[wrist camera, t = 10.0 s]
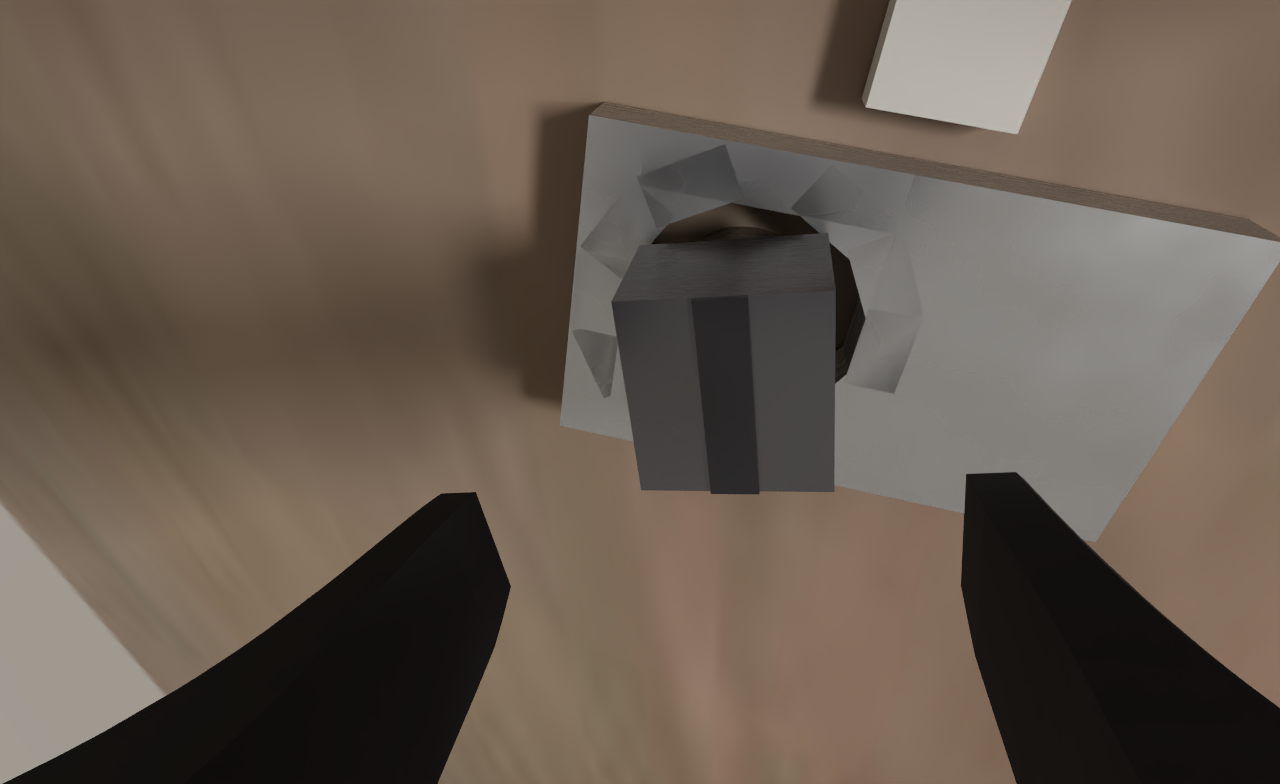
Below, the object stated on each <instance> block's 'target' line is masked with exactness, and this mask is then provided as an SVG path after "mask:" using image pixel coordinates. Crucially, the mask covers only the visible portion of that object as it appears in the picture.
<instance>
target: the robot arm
mask: <svg viewBox="0 0 1280 784" xmlns="http://www.w3.org/2000/svg"><path fill="white" fill-rule="evenodd" d="M961 587H962V593H963V598H964V603H965V608H966V613H967V618H968V624H969V628H970V633H971V638H972V643H973V648H974V652H975V657H976V660H977V663H978V666H979V669H980V672H981V676H982V679H983V682H984V685H985V688H986V691H987V694H988V697H989V700H990V703H991V706H992V710H993V713H994V716H995V719H996V722H997V725H998V728H999V731H1000V734H1001V737H1002V740H1003V743H1004V746H1005V749H1006V752H1007V755H1008V758H1009V761H1010V764H1011V767H1012V771H1013V774H1014V777H1015V780H1016V783H1017V784H1280V708H1279V707H1278V706H1276V705H1275V704H1274V703H1272V702H1271V701H1270V700H1268V699H1267V698H1265V697H1264V696H1263V695H1261V694H1260V693H1259V692H1257V691H1256V690H1255V689H1253V688H1252V687H1251V686H1249V685H1248V684H1247V683H1245V682H1244V681H1243V680H1242V679H1240V678H1239V677H1238V676H1236V675H1235V674H1234V673H1233V672H1231V671H1230V670H1229V669H1228V668H1226V667H1225V666H1224V665H1223V664H1221V663H1220V662H1219V661H1218V660H1216V659H1215V658H1214V657H1213V656H1211V655H1210V654H1209V653H1208V652H1206V651H1205V650H1204V649H1203V648H1202V647H1200V646H1199V645H1198V644H1197V643H1196V642H1195V641H1193V640H1192V639H1191V638H1190V637H1189V636H1187V635H1186V634H1185V633H1184V632H1183V631H1182V630H1180V629H1179V628H1178V627H1177V626H1176V625H1174V624H1173V623H1172V622H1171V621H1170V620H1169V619H1167V618H1166V617H1165V616H1164V615H1163V614H1162V613H1161V612H1159V611H1158V610H1157V609H1156V608H1155V607H1154V606H1153V605H1152V604H1150V603H1149V602H1148V601H1147V600H1146V599H1145V598H1144V597H1143V596H1141V595H1140V594H1139V593H1138V592H1137V591H1136V590H1135V589H1134V588H1133V587H1132V586H1131V585H1130V584H1129V583H1128V582H1126V581H1125V580H1124V579H1123V578H1122V577H1121V576H1120V575H1119V574H1118V573H1117V572H1116V571H1115V570H1114V569H1113V568H1111V567H1110V566H1109V565H1108V564H1107V563H1106V562H1105V561H1104V560H1103V559H1102V558H1101V557H1100V556H1099V555H1098V554H1097V553H1096V552H1095V551H1094V550H1093V549H1092V548H1091V547H1089V546H1088V545H1087V544H1086V543H1085V542H1084V541H1083V540H1082V539H1081V538H1080V537H1079V536H1078V535H1077V534H1076V533H1075V532H1074V530H1073V529H1072V528H1071V527H1070V526H1069V525H1068V524H1067V523H1066V522H1065V521H1064V520H1063V519H1062V518H1061V517H1060V516H1059V515H1058V514H1057V513H1056V512H1055V511H1054V510H1053V509H1052V508H1051V507H1050V506H1049V505H1048V504H1047V503H1046V502H1045V501H1044V500H1043V498H1042V497H1041V496H1040V495H1039V494H1038V493H1037V492H1036V491H1035V490H1034V489H1033V488H1032V487H1031V486H1030V485H1029V484H1028V482H1027V481H1026V480H1025V479H1024V478H1022V477H1021V476H1020V475H1019V474H1018V473H1017V472H1003V473H976V474H966V486H965V509H964V531H963V553H962V575H961ZM510 588H511V586H510V583H509V580H508V578H507V575H506V572H505V570H504V567H503V564H502V561H501V559H500V556H499V553H498V551H497V548H496V545H495V543H494V540H493V537H492V535H491V532H490V529H489V527H488V524H487V521H486V519H485V516H484V513H483V510H482V508H481V505H480V502H479V500H478V497H477V494H476V492H471V493H445V494H440V495H439V496H437V497H436V498H434V499H433V500H432V501H430V502H429V503H427V504H426V505H425V506H423V507H422V508H421V509H420V510H418V511H417V512H416V513H414V514H413V515H412V516H411V517H409V518H408V519H407V520H406V521H404V522H403V523H402V524H401V525H399V526H398V527H397V528H396V529H395V530H393V531H392V532H391V533H390V534H388V535H387V536H386V537H385V538H384V539H382V540H381V541H380V542H379V543H377V544H376V545H375V546H374V547H373V548H371V549H370V550H369V551H368V552H366V553H365V554H364V555H363V556H361V557H360V558H359V559H358V560H357V561H355V562H354V563H353V564H352V565H350V566H349V567H348V568H347V569H345V570H344V571H343V572H342V573H341V574H339V575H338V576H337V577H336V578H334V579H333V580H332V581H331V582H329V583H328V584H327V585H325V586H324V587H323V588H322V589H320V590H319V591H318V592H316V593H315V594H314V595H312V596H311V597H310V598H308V599H307V600H306V601H304V602H303V603H302V604H300V605H299V606H298V607H296V608H295V609H294V610H293V611H291V612H290V613H289V614H287V615H286V616H285V617H283V618H282V619H281V620H279V621H278V622H277V623H275V624H274V625H273V626H271V627H270V628H269V629H267V630H266V631H265V632H263V633H262V634H260V635H259V636H258V637H256V638H255V639H253V640H252V641H250V642H249V643H248V644H246V645H245V646H243V647H242V648H240V649H239V650H237V651H236V652H234V653H233V654H231V655H230V656H228V657H227V658H225V659H224V660H222V661H221V662H219V663H218V664H216V665H215V666H213V667H212V668H210V669H209V670H207V671H205V672H204V673H202V674H201V675H199V676H198V677H196V678H195V679H193V680H191V681H190V682H188V683H187V684H185V685H183V686H182V687H180V688H179V689H177V690H175V691H173V692H172V693H170V694H168V695H167V696H165V697H163V698H161V699H160V700H158V701H156V702H155V703H153V704H151V705H149V706H148V707H146V708H144V709H143V710H141V711H139V712H137V713H136V714H134V715H132V716H131V717H129V718H127V719H126V720H124V721H122V722H120V723H118V724H117V725H115V726H114V727H112V728H110V729H108V730H107V731H105V732H103V733H101V734H99V735H97V736H95V737H94V738H92V739H90V740H88V741H86V742H84V743H82V744H80V745H79V746H76V747H75V748H73V749H71V750H69V751H67V752H65V753H63V754H61V755H59V756H57V757H56V758H54V759H52V760H50V761H48V762H46V763H44V764H41V765H39V766H38V767H36V768H33V769H32V770H29V771H27V772H25V773H23V774H21V775H19V776H17V777H16V778H13V779H12V780H10V781H7V782H5V783H3V784H437V783H438V781H439V779H440V776H441V774H442V771H443V769H444V767H445V764H446V762H447V760H448V757H449V755H450V753H451V750H452V748H453V745H454V743H455V741H456V738H457V736H458V734H459V731H460V729H461V727H462V724H463V722H464V719H465V717H466V715H467V712H468V710H469V708H470V705H471V703H472V701H473V698H474V696H475V694H476V691H477V689H478V686H479V684H480V681H481V679H482V677H483V674H484V672H485V669H486V667H487V664H488V662H489V659H490V657H491V654H492V652H493V649H494V647H495V644H496V640H497V637H498V633H499V630H500V626H501V623H502V619H503V616H504V612H505V608H506V604H507V600H508V596H509V592H510Z"/></svg>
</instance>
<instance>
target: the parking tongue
mask: <svg viewBox="0 0 1280 784" xmlns="http://www.w3.org/2000/svg"><path fill="white" fill-rule="evenodd" d="M1071 1H1072V0H890V1H889V4H888V8H887V11H886V15H885V18H884V22H883V25H882V29H881V32H880V36H879V39H878V43H877V46H876V50H875V53H874V57H873V60H872V64H871V67H870V71H869V74H868V78H867V81H866V85H865V88H864V92H863V95H862V101H863V103H864V105H865V107H867V108H872V109H878V110H884V111H889V112H895V113H900V114H906V115H912V116H917V117H923V118H928V119H934V120H940V121H945V122H951V123H957V124H962V125H968V126H973V127H979V128H985V129H990V130H996V131H1002V132H1007V133H1013V134H1018V132H1019V129H1020V127H1021V124H1022V122H1023V119H1024V117H1025V114H1026V112H1027V109H1028V107H1029V104H1030V102H1031V100H1032V97H1033V95H1034V92H1035V90H1036V87H1037V85H1038V82H1039V80H1040V77H1041V75H1042V72H1043V70H1044V68H1045V65H1046V63H1047V60H1048V58H1049V55H1050V53H1051V50H1052V48H1053V45H1054V43H1055V40H1056V38H1057V35H1058V33H1059V31H1060V28H1061V26H1062V23H1063V21H1064V18H1065V16H1066V13H1067V11H1068V8H1069V6H1070V3H1071Z"/></svg>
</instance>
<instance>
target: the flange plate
mask: <svg viewBox="0 0 1280 784" xmlns="http://www.w3.org/2000/svg"><path fill="white" fill-rule="evenodd" d="M729 203H735V204H740V205H745V206H751V207H756V208H761V209H766V210H772V211H777V212H782V213H787V214H793V215H798V216H800V217H802V218H803V219H804V220H805V221H806V222H807V223H808V224H810V225H811V226H812V227H813V228H814V229H815V230H816V231H818V232H819V233H828V235H829V242H830V243H831V244H832V245H833V246H835V247H836V248H837V249H838V250H839V251H840V252H841V253H843V254H844V255H845V256H846V257H847V258H848V259H849V260H850V263H851V267H852V270H853V274H854V278H855V281H856V285H857V289H858V292H859V298H858V301H857V304H856V307H855V310H854V313H853V316H852V319H851V322H850V325H849V328H848V331H847V334H846V337H845V340H844V343H843V345H842V346H841V347H840V348H839V349H838V350H837V351H835V467H834V485H836V486H840V487H845V488H849V489H854V490H859V491H863V492H868V493H872V494H877V495H882V496H886V497H891V498H895V499H900V500H905V501H909V502H914V503H918V504H923V505H928V506H932V507H937V508H941V509H946V510H951V511H955V512H960V513H964V509H965V486H966V474H976V473H1003V472H1017V473H1018V474H1019V475H1020V476H1021V477H1022V478H1024V479H1025V480H1026V481H1027V482H1028V484H1029V485H1030V486H1031V487H1032V488H1033V489H1034V490H1035V491H1036V492H1037V493H1038V494H1039V495H1040V496H1041V497H1042V498H1043V500H1044V501H1045V502H1046V503H1047V504H1048V505H1049V506H1050V507H1051V508H1052V509H1053V510H1054V511H1055V512H1056V513H1057V514H1058V515H1059V516H1060V517H1061V518H1062V519H1063V520H1064V521H1065V522H1066V523H1067V524H1068V525H1069V526H1070V527H1071V528H1072V529H1073V530H1074V532H1075V533H1076V534H1077V535H1078V536H1079V537H1080V538H1081V539H1084V540H1088V541H1093V542H1096V541H1097V539H1098V538H1099V536H1100V535H1101V533H1102V531H1103V530H1104V528H1105V527H1106V525H1107V524H1108V522H1109V521H1110V519H1111V518H1112V516H1113V515H1114V513H1115V512H1116V510H1117V509H1118V507H1119V506H1120V504H1121V503H1122V501H1123V499H1124V498H1125V496H1126V495H1127V493H1128V492H1129V490H1130V489H1131V487H1132V486H1133V484H1134V483H1135V481H1136V480H1137V478H1138V477H1139V475H1140V474H1141V472H1142V471H1143V469H1144V467H1145V466H1146V464H1147V463H1148V461H1149V460H1150V458H1151V457H1152V455H1153V454H1154V452H1155V451H1156V449H1157V448H1158V446H1159V445H1160V443H1161V442H1162V440H1163V439H1164V437H1165V436H1166V434H1167V432H1168V431H1169V429H1170V428H1171V426H1172V425H1173V423H1174V422H1175V420H1176V419H1177V417H1178V416H1179V414H1180V413H1181V411H1182V410H1183V408H1184V407H1185V405H1186V404H1187V402H1188V400H1189V399H1190V397H1191V396H1192V394H1193V393H1194V391H1195V390H1196V388H1197V387H1198V385H1199V384H1200V382H1201V381H1202V379H1203V378H1204V376H1205V375H1206V373H1207V372H1208V370H1209V368H1210V367H1211V365H1212V364H1213V362H1214V361H1215V359H1216V358H1217V356H1218V355H1219V353H1220V352H1221V350H1222V349H1223V347H1224V346H1225V344H1226V343H1227V341H1228V340H1229V338H1230V336H1231V335H1232V333H1233V332H1234V330H1235V329H1236V327H1237V326H1238V324H1239V323H1240V321H1241V320H1242V318H1243V317H1244V315H1245V314H1246V312H1247V311H1248V309H1249V308H1250V306H1251V304H1252V303H1253V301H1254V300H1255V298H1256V297H1257V295H1258V294H1259V292H1260V291H1261V289H1262V288H1263V286H1264V285H1265V283H1266V282H1267V280H1268V279H1269V277H1270V276H1271V274H1272V272H1273V271H1274V269H1275V268H1276V266H1277V265H1278V263H1279V262H1280V237H1278V236H1277V235H1275V234H1273V233H1272V232H1270V231H1268V230H1267V229H1265V228H1263V227H1262V226H1260V225H1258V224H1256V223H1255V222H1253V221H1251V220H1249V219H1244V218H1238V217H1233V216H1227V215H1222V214H1216V213H1211V212H1205V211H1200V210H1194V209H1189V208H1183V207H1178V206H1173V205H1167V204H1162V203H1156V202H1151V201H1145V200H1140V199H1134V198H1129V197H1123V196H1118V195H1112V194H1107V193H1101V192H1096V191H1090V190H1085V189H1079V188H1074V187H1068V186H1063V185H1057V184H1052V183H1046V182H1041V181H1035V180H1030V179H1024V178H1019V177H1013V176H1008V175H1002V174H997V173H992V172H986V171H981V170H975V169H970V168H964V167H959V166H953V165H948V164H942V163H937V162H931V161H926V160H920V159H915V158H909V157H904V156H898V155H893V154H887V153H882V152H876V151H871V150H865V149H860V148H854V147H849V146H843V145H838V144H832V143H827V142H821V141H816V140H810V139H805V138H800V137H794V136H789V135H783V134H778V133H772V132H767V131H761V130H756V129H750V128H745V127H739V126H734V125H728V124H723V123H717V122H712V121H706V120H701V119H695V118H690V117H684V116H679V115H673V114H668V113H662V112H657V111H651V110H646V109H640V108H635V107H629V106H624V105H619V104H613V103H608V102H604V103H603V104H601V105H600V106H599V107H598V108H597V109H595V110H594V111H593V112H592V113H591V114H590V115H589V120H588V131H587V141H586V152H585V163H584V173H583V184H582V195H581V205H580V216H579V226H578V237H577V248H576V258H575V269H574V280H573V290H572V301H571V312H570V322H569V333H568V344H567V354H566V365H565V376H564V386H563V397H562V408H561V418H560V426H565V427H569V428H574V429H578V430H583V431H588V432H592V433H597V434H601V435H606V436H611V437H615V438H620V439H624V440H629V441H633V434H632V428H631V422H630V416H629V409H628V403H627V397H626V391H625V385H624V378H623V372H622V366H621V360H620V353H619V347H618V341H617V335H616V329H615V322H614V316H613V310H612V304H611V301H612V299H613V297H614V295H615V293H616V291H617V289H618V287H619V285H620V283H621V281H622V279H623V277H624V275H625V273H626V271H627V269H628V267H629V265H630V263H631V261H632V259H633V257H634V255H635V253H636V251H637V249H638V247H639V245H651V243H652V242H653V241H654V240H655V239H656V237H657V236H658V235H659V234H660V233H661V232H662V230H663V229H664V228H665V227H666V226H667V225H668V224H670V223H673V222H676V221H679V220H682V219H685V218H688V217H691V216H694V215H697V214H700V213H703V212H706V211H709V210H712V209H715V208H718V207H721V206H724V205H726V204H729Z"/></svg>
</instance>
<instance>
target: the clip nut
mask: <svg viewBox="0 0 1280 784" xmlns="http://www.w3.org/2000/svg"><path fill="white" fill-rule="evenodd" d="M611 304H612V310H613V316H614V322H615V329H616V335H617V341H618V347H619V353H620V360H621V366H622V372H623V378H624V385H625V391H626V397H627V403H628V409H629V416H630V422H631V428H632V434H633V441H634V447H635V453H636V459H637V465H638V472H639V478H640V484H641V490H679V491H711V494H759V491H796V492H834V467H835V335H836V288H835V281H834V273H833V266H832V258H831V251H830V243H829V235H828V233H820V234H804V235H789V236H779V235H777V234H775V233H772V232H770V231H767V230H763V229H759V228H753V227H734V228H727V229H723V230H720V231H717V232H714V233H712V234H710V235H708V236H706V237H704V238H702V239H701V240H700V241H697V242H682V243H667V244H651V245H639V247H638V249H637V251H636V253H635V255H634V257H633V259H632V261H631V263H630V265H629V267H628V269H627V271H626V273H625V275H624V277H623V279H622V281H621V283H620V285H619V287H618V289H617V291H616V293H615V295H614V297H613V299H612V301H611Z"/></svg>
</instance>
